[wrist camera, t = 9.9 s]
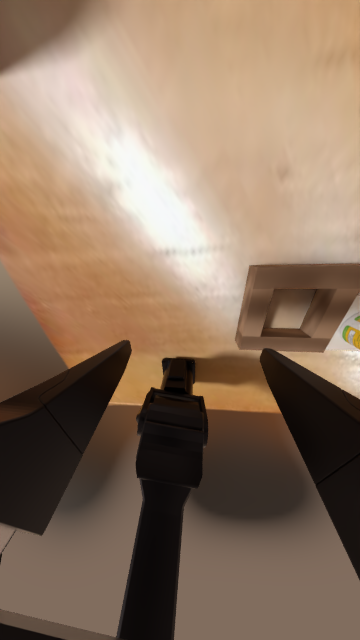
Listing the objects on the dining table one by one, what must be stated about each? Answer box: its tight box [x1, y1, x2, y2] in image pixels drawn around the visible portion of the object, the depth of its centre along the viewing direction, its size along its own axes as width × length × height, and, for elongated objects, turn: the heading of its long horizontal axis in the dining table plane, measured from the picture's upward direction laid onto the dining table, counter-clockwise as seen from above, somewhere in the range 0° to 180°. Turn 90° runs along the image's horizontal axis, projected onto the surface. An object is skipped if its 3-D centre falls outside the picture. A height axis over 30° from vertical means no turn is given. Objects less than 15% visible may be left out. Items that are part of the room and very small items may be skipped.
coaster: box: [325, 295, 360, 351], centre depth 20 cm, size 9×9×1 cm
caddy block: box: [235, 264, 360, 353], centre depth 19 cm, size 12×12×2 cm
